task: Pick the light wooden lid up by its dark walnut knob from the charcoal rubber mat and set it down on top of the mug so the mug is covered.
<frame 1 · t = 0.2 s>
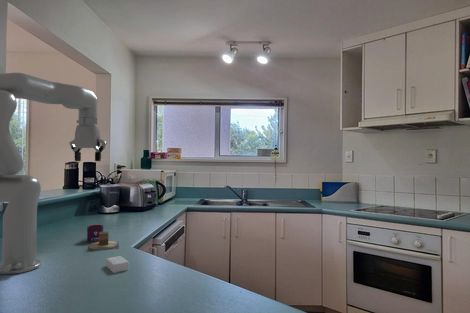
hand: (87, 161, 139), 36 cm above the worktop, tool pointing down, fingers open, 9 cm apart
mug: (94, 240, 144), on the worktop
soap: (117, 269, 107), on the worktop
mat: (103, 247, 132), on the worktop
lid: (103, 246, 132), resting on mat
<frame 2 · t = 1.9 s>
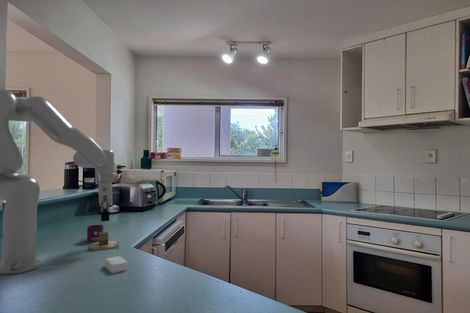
hand: (105, 218, 133), 12 cm above the worktop, tool pointing down, fingers open, 9 cm apart
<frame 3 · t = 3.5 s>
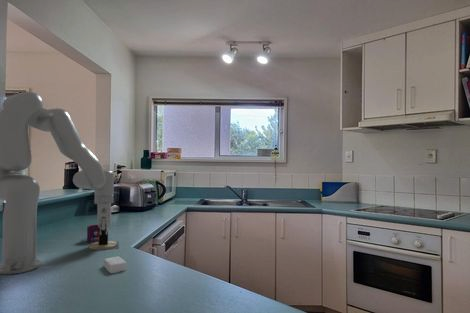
hand: (103, 242, 132), 2 cm above the worktop, tool pointing down, fingers closed on lid, 3 cm apart
lid: (103, 246, 132), resting on mat, touching gripper
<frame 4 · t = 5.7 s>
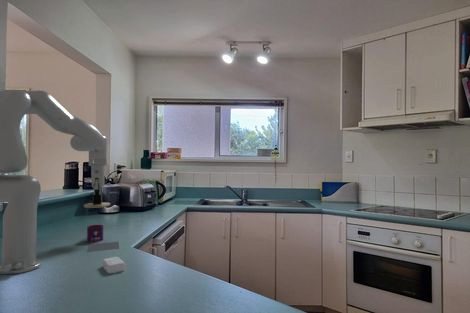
hand: (97, 202, 142), 18 cm above the worktop, tool pointing down, fingers closed on lid, 3 cm apart
lid: (97, 205, 142), point 16 cm above the worktop, touching gripper
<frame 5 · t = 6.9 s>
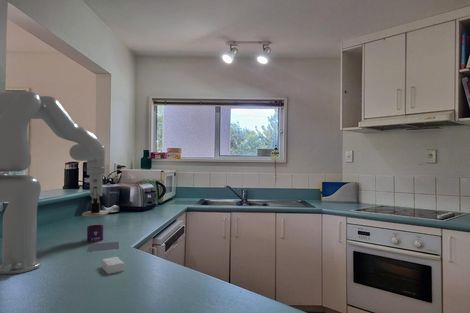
hand: (95, 210, 144), 13 cm above the worktop, tool pointing down, fingers closed on lid, 3 cm apart
lid: (95, 214, 144), point 12 cm above the worktop, touching gripper
when the fingers open (10 cm above the worktop, at t = 7.9 s): lid drops 2 cm, resting on mug.
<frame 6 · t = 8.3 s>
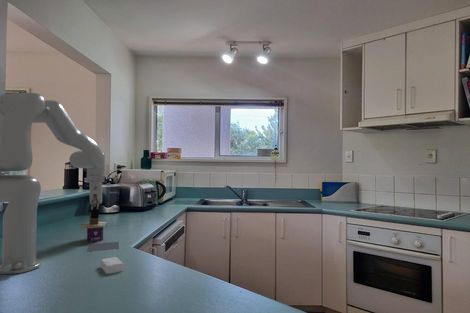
hand: (95, 216, 144), 11 cm above the worktop, tool pointing down, fingers open, 8 cm apart
mug: (94, 240, 144), on the worktop, touching lid
lid: (93, 225, 144), point 7 cm above the worktop, touching mug
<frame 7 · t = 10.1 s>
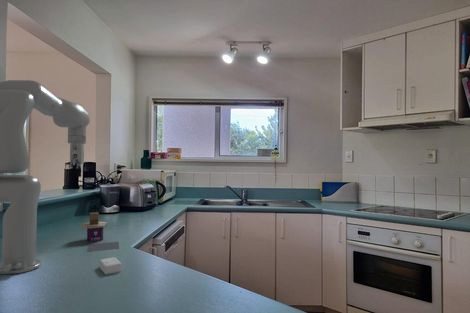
hand: (76, 177, 144), 29 cm above the worktop, tool pointing down, fingers open, 9 cm apart
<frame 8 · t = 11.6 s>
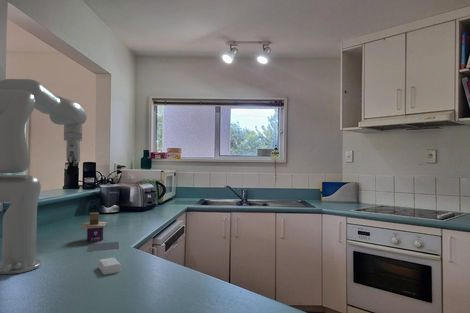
hand: (72, 174, 145), 30 cm above the worktop, tool pointing down, fingers open, 9 cm apart
at the end: lid 0.5 cm from the mug (horizontally); lid point 6.7 cm above the worktop; the gripper is holding nothing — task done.
